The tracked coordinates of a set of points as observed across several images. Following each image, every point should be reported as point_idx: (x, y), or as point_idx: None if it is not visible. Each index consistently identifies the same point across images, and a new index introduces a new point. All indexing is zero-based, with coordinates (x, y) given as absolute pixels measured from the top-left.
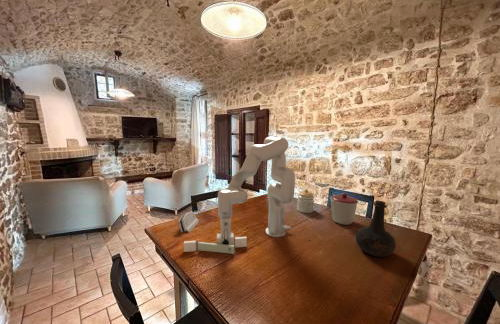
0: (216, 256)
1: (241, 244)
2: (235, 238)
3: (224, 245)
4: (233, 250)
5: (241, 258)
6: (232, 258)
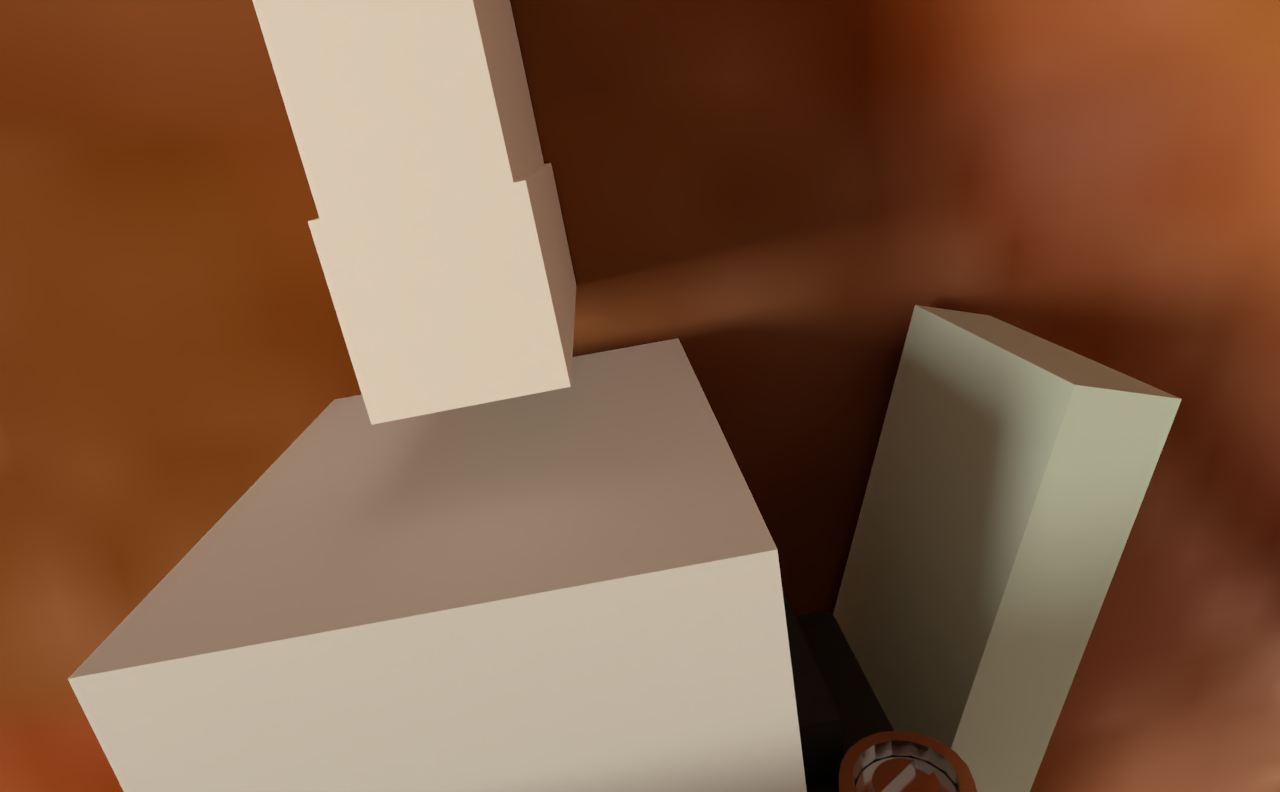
0: None
1: (506, 32)
2: (508, 387)
3: (1027, 770)
4: (1054, 349)
5: (1228, 17)
6: (1166, 323)
